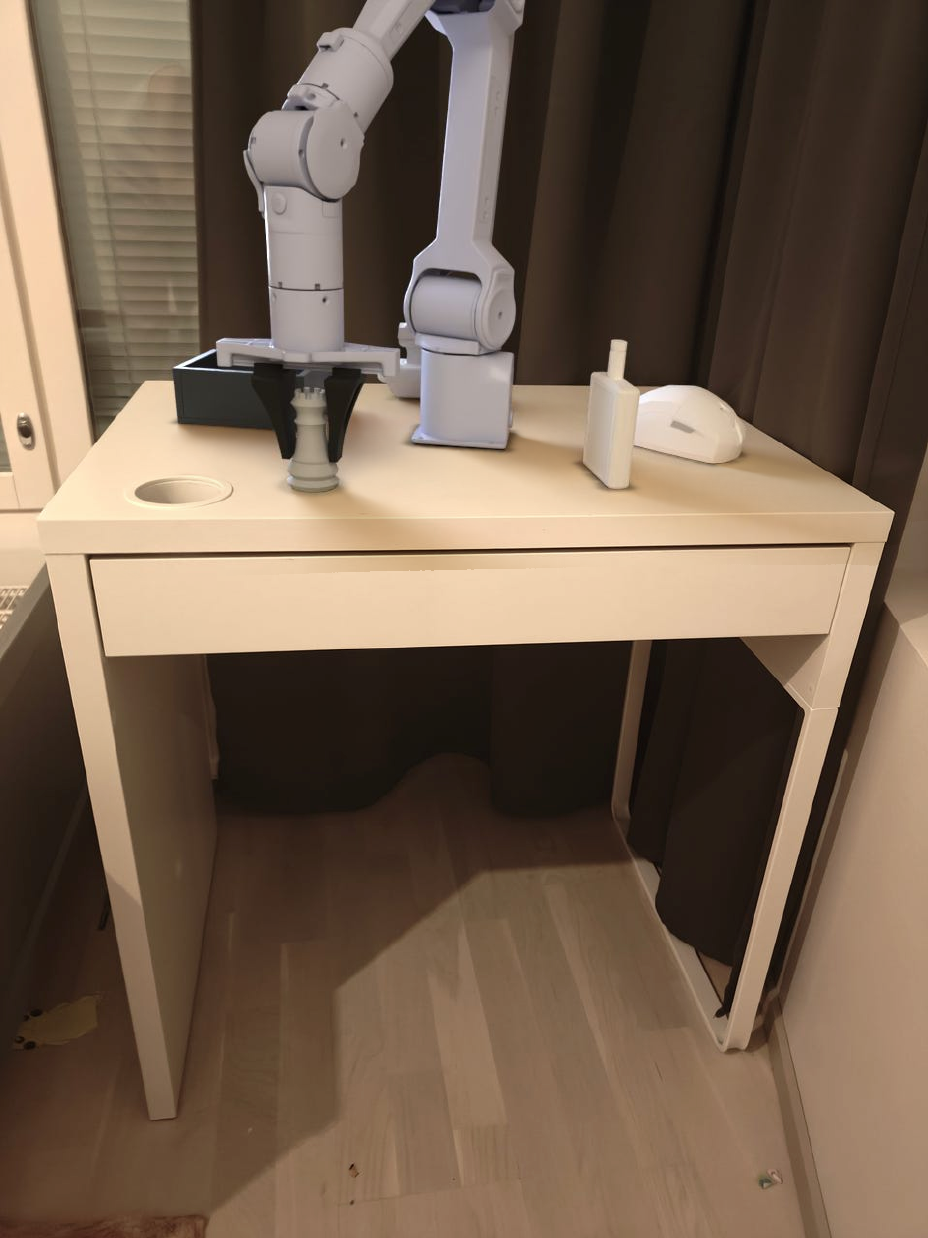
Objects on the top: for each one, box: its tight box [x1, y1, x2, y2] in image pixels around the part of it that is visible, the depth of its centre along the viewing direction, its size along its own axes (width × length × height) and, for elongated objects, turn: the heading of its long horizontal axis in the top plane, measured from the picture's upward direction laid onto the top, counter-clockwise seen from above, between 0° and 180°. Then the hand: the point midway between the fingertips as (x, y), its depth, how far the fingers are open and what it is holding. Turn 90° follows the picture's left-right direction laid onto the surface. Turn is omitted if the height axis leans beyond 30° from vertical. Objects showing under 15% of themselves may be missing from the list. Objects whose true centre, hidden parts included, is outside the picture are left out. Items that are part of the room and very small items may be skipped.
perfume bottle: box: [582, 339, 641, 490], centre depth 81 cm, size 8×2×12 cm, turn 10°
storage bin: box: [171, 348, 332, 432], centre depth 98 cm, size 14×12×6 cm
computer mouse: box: [634, 384, 747, 464], centre depth 92 cm, size 6×13×6 cm, turn 47°
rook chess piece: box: [285, 387, 340, 493], centre depth 76 cm, size 4×4×8 cm
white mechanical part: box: [377, 322, 422, 400], centre depth 109 cm, size 9×7×8 cm
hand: (311, 457), depth 76 cm, fingers closed on rook chess piece, 3 cm apart
